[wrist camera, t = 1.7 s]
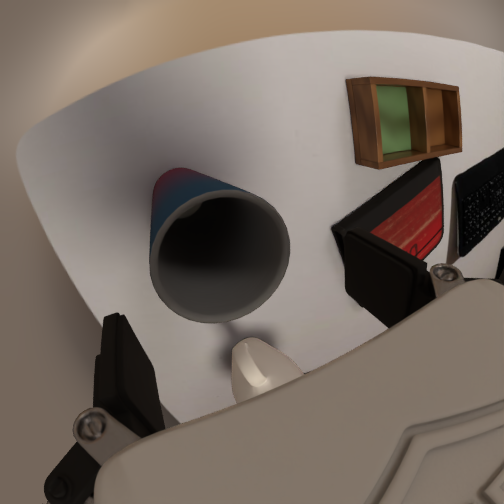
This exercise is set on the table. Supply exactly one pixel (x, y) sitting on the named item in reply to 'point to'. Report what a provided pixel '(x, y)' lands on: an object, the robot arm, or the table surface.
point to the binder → (404, 212)
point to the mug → (259, 369)
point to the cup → (214, 247)
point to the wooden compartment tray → (403, 120)
